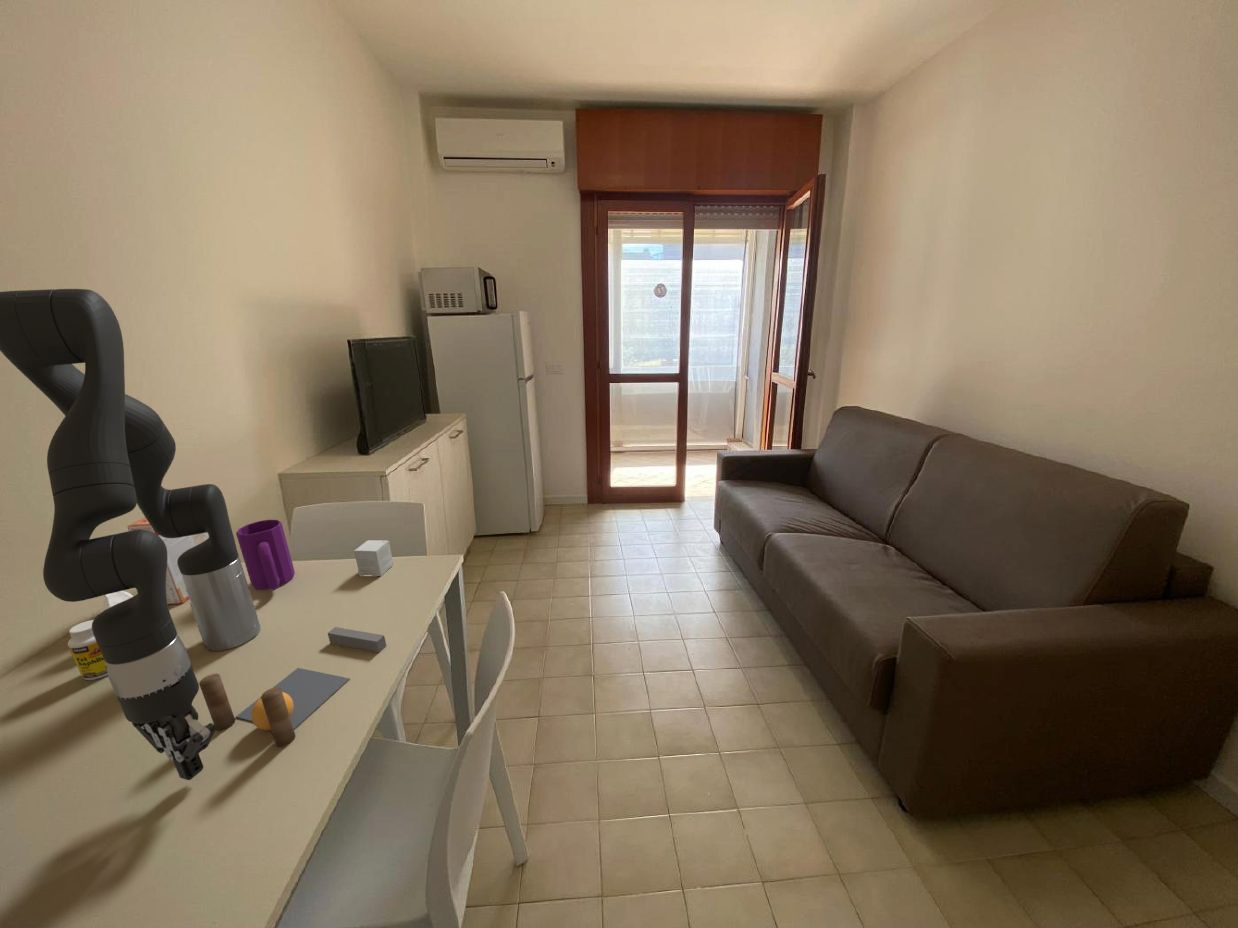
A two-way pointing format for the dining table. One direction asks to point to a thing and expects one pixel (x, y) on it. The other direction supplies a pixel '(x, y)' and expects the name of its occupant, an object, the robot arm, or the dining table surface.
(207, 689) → the left post
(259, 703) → the ball
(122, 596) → the white tapered piece
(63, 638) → the dining table surface
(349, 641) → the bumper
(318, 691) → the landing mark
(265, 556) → the mug
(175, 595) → the cracker box
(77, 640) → the supplement bottle
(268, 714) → the right post
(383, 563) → the product box
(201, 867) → the dining table surface
